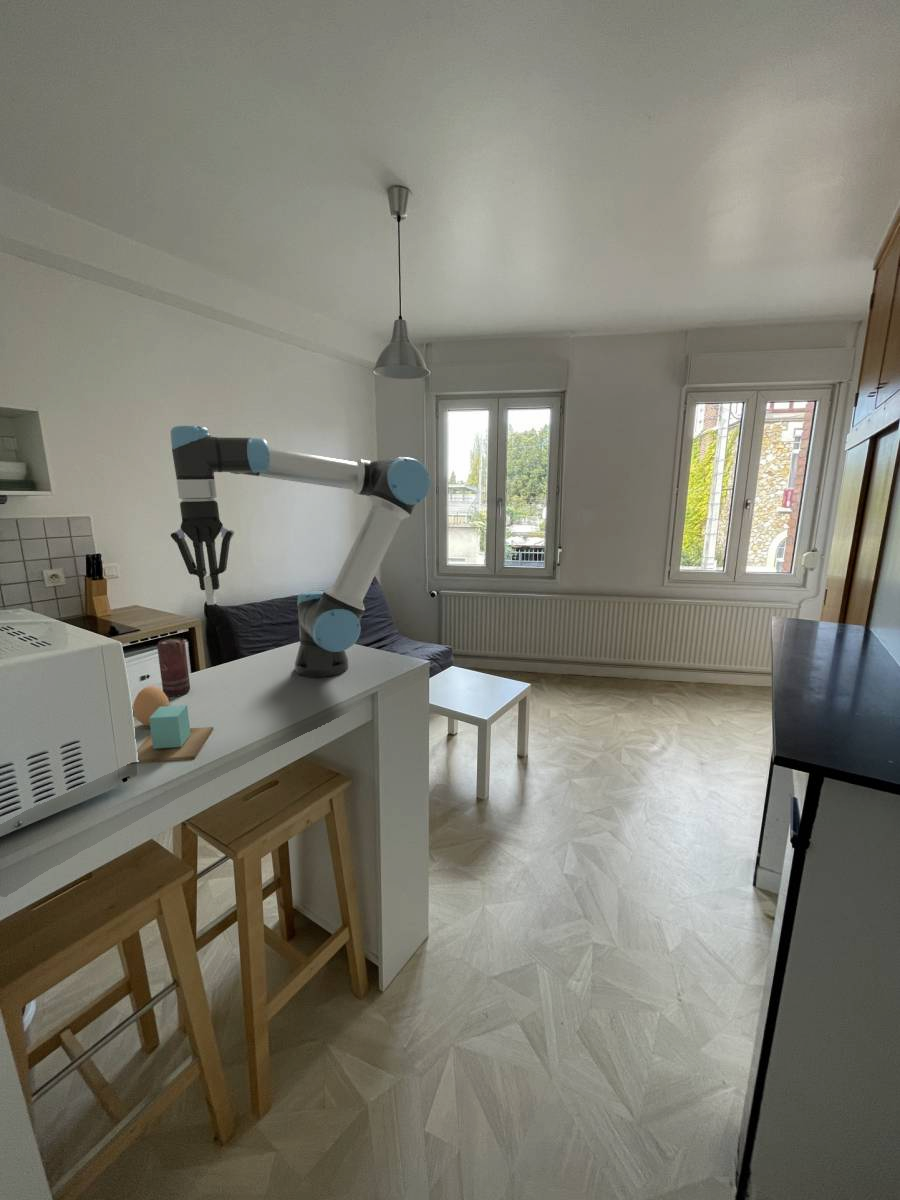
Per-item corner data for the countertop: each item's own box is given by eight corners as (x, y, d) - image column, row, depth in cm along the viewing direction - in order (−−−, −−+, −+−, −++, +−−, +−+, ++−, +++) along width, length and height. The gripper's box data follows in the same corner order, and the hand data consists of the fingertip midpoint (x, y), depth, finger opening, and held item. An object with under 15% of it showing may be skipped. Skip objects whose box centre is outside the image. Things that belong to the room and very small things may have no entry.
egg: (152, 716, 113) (147, 679, 111) (178, 719, 112) (173, 682, 110) (128, 730, 107) (122, 691, 104) (155, 733, 105) (150, 694, 103)
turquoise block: (190, 734, 103) (187, 705, 102) (181, 746, 98) (177, 716, 97) (163, 735, 102) (159, 706, 101) (153, 748, 97) (149, 718, 96)
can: (179, 698, 123) (173, 645, 119) (157, 696, 124) (150, 643, 121) (196, 688, 128) (191, 637, 125) (175, 686, 130) (169, 635, 126)
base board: (213, 729, 107) (213, 726, 107) (194, 758, 96) (194, 756, 96) (154, 733, 105) (153, 730, 105) (127, 763, 94) (127, 760, 94)
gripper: (233, 498, 113) (244, 598, 119) (172, 500, 111) (186, 601, 116) (226, 500, 106) (238, 605, 112) (160, 501, 104) (176, 609, 109)
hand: (212, 603), depth 114 cm, fingers closed
